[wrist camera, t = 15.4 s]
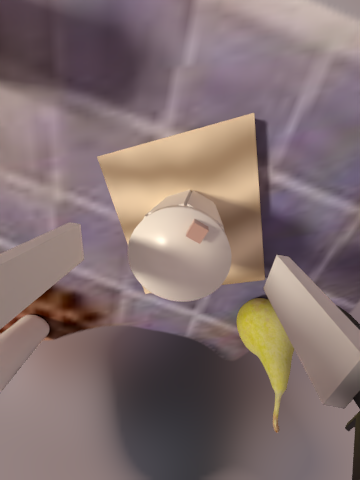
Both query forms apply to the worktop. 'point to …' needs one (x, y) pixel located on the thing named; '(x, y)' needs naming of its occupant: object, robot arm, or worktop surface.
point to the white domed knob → (180, 248)
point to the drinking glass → (20, 345)
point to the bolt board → (196, 184)
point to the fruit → (267, 344)
